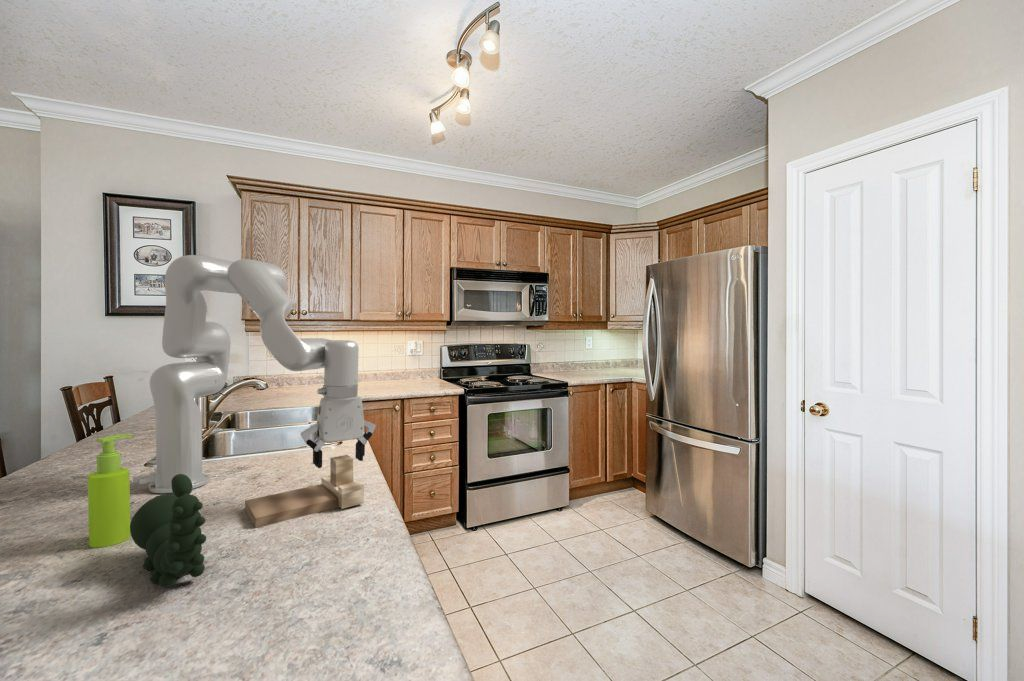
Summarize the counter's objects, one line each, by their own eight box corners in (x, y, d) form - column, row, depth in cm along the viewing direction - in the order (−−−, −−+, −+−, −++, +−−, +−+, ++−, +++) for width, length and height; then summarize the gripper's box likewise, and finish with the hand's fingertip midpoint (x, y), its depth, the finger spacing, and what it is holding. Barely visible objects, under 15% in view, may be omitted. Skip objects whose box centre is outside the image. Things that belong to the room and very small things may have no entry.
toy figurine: (223, 593, 71) (186, 530, 88) (225, 479, 69) (187, 437, 86) (148, 621, 64) (123, 547, 81) (148, 495, 62) (123, 446, 79)
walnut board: (255, 527, 90) (255, 518, 90) (244, 509, 99) (244, 500, 99) (361, 501, 105) (361, 492, 105) (343, 487, 114) (343, 479, 114)
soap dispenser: (143, 533, 88) (142, 433, 87) (101, 549, 81) (99, 441, 80) (124, 529, 89) (122, 430, 89) (81, 544, 83) (79, 438, 82)
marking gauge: (341, 508, 99) (341, 467, 99) (321, 490, 110) (321, 453, 110) (363, 503, 102) (363, 463, 102) (341, 486, 113) (341, 450, 113)
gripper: (307, 397, 97) (305, 474, 97) (382, 391, 108) (380, 460, 109) (297, 392, 103) (296, 465, 103) (369, 387, 114) (368, 453, 114)
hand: (339, 462), depth 106 cm, fingers open, 9 cm apart
